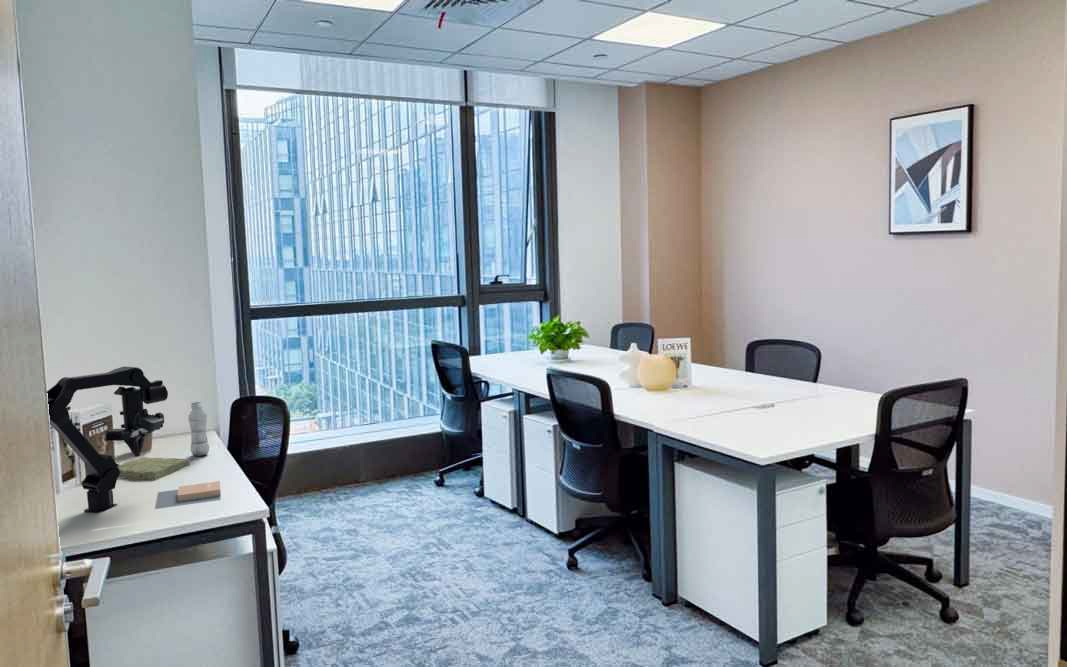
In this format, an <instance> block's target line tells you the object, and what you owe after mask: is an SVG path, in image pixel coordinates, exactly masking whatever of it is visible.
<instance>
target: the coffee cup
mask: <svg viewBox="0 0 1067 667" xmlns="http://www.w3.org/2000/svg"><path fill="white" fill-rule="evenodd" d="M147 432H148V431H147ZM152 447H153V432H151V433H150V434H149V435H148V436H147V437H146V438H145V439H144V442H143V446H142V449H141V453H140V455H141V454H146V453H149V452H151V451H152ZM130 451H131V450H130ZM131 453H132V451H131Z"/></svg>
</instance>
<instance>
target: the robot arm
mask: <svg viewBox="0 0 1067 667" xmlns="http://www.w3.org/2000/svg"><path fill="white" fill-rule="evenodd" d="M144 374H145V373H144V372H143V369H141V368H140V367H138V366H137V367H136V366H135V367H134V366H120V367H118V368H114V369H112V370H110V371H107V372H101V373H96V374H95V373H93V374H88V375H87V374H86V375H79V376H72V377H71V376H70V377H66V376H65V377H62V378H61V379H59V380H58V381H57V383H55V385H53V386H52V387H51V388H50V389H48V390H46V392H47V393H48V404H49V414H50V425H51V426H50V427H51V428H53V429H54V430H55V431H56V433H58V435H59V436H60V437H61V438H62V439H63V440H64V441H65V443H66V444H67V445H68V446H69V447H70V448H71V449H72V450H73V452H74V453H75V454H76V455H77V456H78V457H79V459H80V460H81V461H82V462H83V463H84V468H85V471H86V474H87V475H85V477H84V479H83V480H82V482H80V483H81V487H82V488H83V490H87V491H86V496H87V498H86V499H87V506H88V507H87V508H86V509H84V510H83V512H85V513H103V512H106V511H107V510H110V509H112V508H115V507H117V506H118V504H117V503H114V492H113V490H114V489H116V484H117V480H118V479H119V478H118V477H119V473H120V470H119V468H118V467H117V466H119V465H120V464H119V463H117V462H116V461H115V459H114V457H112V456H111V455H108V454H104V453H99V452H98V451H97V450H96V449H95V447H94V445H92V444H91V442H89V440H88V439H87V438H86V437H85V435H84V434H83V433H82V432H81V431H80V430H79V428H77V427H76V425H75V424H74V423H73V422H72V420H71V418H70V412H69V410H68V406H69V405H70V403H71V402H72V399H73V398H74V396H75V393H76V392H77V391H82V390H88V389H89V390H90V389H95V388H102V387H110V386H118V388H117V389H116V390H115V391H114V392H113V394H114V395H117V396H120V397H121V406H122V410H121V411H119V415H120V416H123V424H121V425H120V428H113V429H110V430H106V432H105V434H104V436H105V441H108V442H110V441H112V442H113V441H115V442H117V441H118V442H121V441H123V442H124V443H125V444H126V446H127V447H128V449H129V450H130V451H132V452H131V453H132V454H133V455H134V457H135V458H136V457H137V458H138V457H140V455H141V454H142V453H141V449H142V446H143V442H144V439H145V438H146V437H147V436H148V435H149V434H150V433H151V432H152V433H153V432H155V431H160V430H161V429H162V428H163V427H164V424H165V414H164V413H162V412H156V413H155V414H149V410H148V409H147V408H144V405H145V404H146V405H149V404H150V405H151V404H155V403H159V402H165V401H166V400H167V399H168V395H169V394H168V390H167V387H166V386H165V384H163V383H164V382H163V380H162V379H161V380H159V379H157V380H154V381H150V380H149V379H148V378H147V377H146V376H145V375H144ZM126 386H127V387H126ZM128 386H129V387H128ZM136 387H138V388H136ZM147 431H148V432H147ZM140 453H141V454H140Z"/></svg>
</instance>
